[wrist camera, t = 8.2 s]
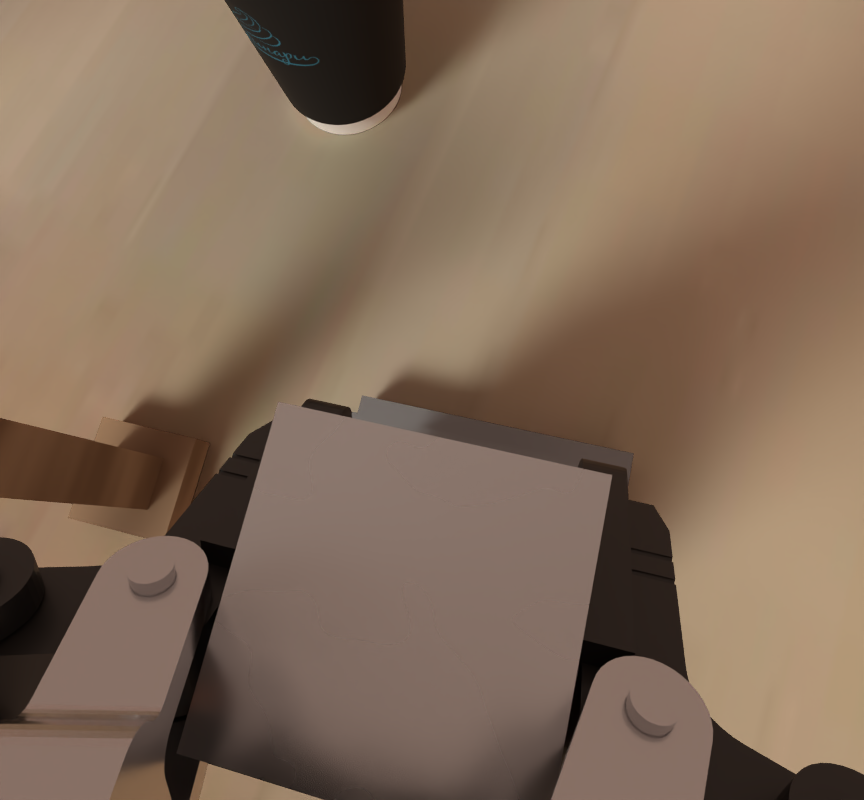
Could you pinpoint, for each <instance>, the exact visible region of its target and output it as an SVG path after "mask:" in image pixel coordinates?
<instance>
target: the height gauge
mask: <svg viewBox="0 0 864 800" xmlns="http://www.w3.org/2000/svg"><path fill="white" fill-rule="evenodd" d="M209 444H210V443H208V442H205V441H202V440H199V439H196V438H192V437H187V436H183V435H179V434H174V433H170V432H166V431H162V430H157V429H153V428H149V427H144V426H140V425H136V424H132V423H127V422H123V421H119V420H114V419H110V418H106V417H102V420H101V423H100V426H99V429H98V432H97V435H96V438H95V440H94V441H92V440H88V439H84V438H79V437H75V436H71V435H67V434H63V433H59V432H55V431H51V430H47V429H43V428H39V427H34V426H30V425H26V424H22V423H18V422H14V421H10V420H6V419H2V418H0V498H11V499H23V500H35V501H47V502H59V503H71V504H72V507H71V510H70V513H69V516H68V518H71V519H75V520H78V521H82V522H86V523H90V524H94V525H98V526H101V527H105V528H109V529H113V530H117V531H121V532H124V533H128V534H132V535H136V536H140V537H143V538H150V537H157V536H165V534H166V533H167V532H168V531H169V530H170V529H171V527H172V526H173V525H174V524H175V523H176V521H177V520H178V519H179V518H180V517H181V515H182V514H183V513H184V512H185V511H186V509H187V508H188V507H189V506H190V505H191V503H192V499H193V496H194V493H195V490H196V486H197V483H198V480H199V477H200V473H201V470H202V467H203V464H204V460H205V457H206V454H207V451H208V447H209Z"/></svg>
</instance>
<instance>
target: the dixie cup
mask: <svg viewBox="0 0 864 800" xmlns="http://www.w3.org/2000/svg"><path fill="white" fill-rule="evenodd" d="M225 2H226V3H227V5H228V6H229V8H230V9H231V11H232V13H233V14H234V16H235V17H236V19H237V20H238V22H239V23H240V25H241V26H242V28H243V29H244V31H245V33H246V34H247V36H248V37H249V39H250V40H251V42H252V43H253V45H254V46H255V48H256V50H257V51H258V53H259V54H260V56H261V57H262V59H263V60H264V62H265V63H266V65H267V66H268V68H269V70H270V71H271V73H272V74H273V76H274V77H275V79H276V80H277V82H278V83H279V85H280V87H281V88H282V90H283V91H284V93H285V94H286V96H287V97H288V99H289V100H290V102H291V103H292V105H293V106H294V107H295V108H296V109H297V110H298V111H299V112H300V113H302V114H303V115H304V116H306V117H307V119H308V120H309V121H310V122H311V123H312V124H313V125H315V126H316V127H318V128H320V129H322V130H324V131H326V132H329V133H334V134H341V135H347V134H356V133H360V132H363V131H366V130H369V129H371V128H373V127H375V126H376V125H378V124H379V123H381V122H382V121H383V120H384V119H386V118H387V117H388V116H389V114H390V113H391V112H392V111H393V109H394V108H395V106H396V104H397V102H398V100H399V97H400V94H401V88H402V82H403V79H404V75H405V68H406V60H405V38H404V16H403V0H225Z"/></svg>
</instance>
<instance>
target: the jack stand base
mask: <svg viewBox="0 0 864 800" xmlns="http://www.w3.org/2000/svg"><path fill="white" fill-rule="evenodd" d="M352 418H354V419H359V420H364V421H368V422H373V423H377V424H382V425H386V426H391V427H395V428H400V429H404V430H409V431H414V432H418V433H423V434H427V435H432V436H436V437H441V438H445V439H450V440H455V441H459V442H464V443H468V444H473V445H477V446H482V447H486V448H491V449H496V450H500V451H505V452H509V453H514V454H518V455H523V456H527V457H532V458H537V459H541V460H546V461H550V462H555V463H559V464H564V465H568V466H573V467H578V465H579V462H580V460H581V459H582V458H583V459H588V460H592V461H597V462H601V463H606V464H611V465H615V466H620V467H624V468H626V469H627V478H628V484H629V478H630V472H631V466H632V460H633V455H634V453H629V452H624V451H620V450H615V449H610V448H606V447H601V446H596V445H592V444H587V443H582V442H578V441H573V440H568V439H564V438H559V437H554V436H550V435H545V434H540V433H536V432H531V431H526V430H521V429H517V428H512V427H507V426H503V425H498V424H493V423H489V422H484V421H479V420H475V419H470V418H465V417H461V416H456V415H451V414H447V413H442V412H437V411H433V410H428V409H423V408H418V407H414V406H409V405H404V404H400V403H395V402H390V401H386V400H381V399H376V398H372V397H367V396H362V398H361V402H360V406H359V410H358V413H355V412H352Z"/></svg>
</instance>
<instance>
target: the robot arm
mask: <svg viewBox="0 0 864 800" xmlns="http://www.w3.org/2000/svg"><path fill="white" fill-rule="evenodd" d="M301 407H304V408H309V409H313V410H318V411H323V412H327V413H332V414H336V415H341V416H345V417H350V418H352V412H351V409H350V408H349V407H346V406H341V405H336V404H332V403H327V402H323V401H318V400H313V399H308V400H306V401H305V402H304V403H303V405H302V406H301ZM272 422H273V421H271V422H269V423H268V424H266V425H264V426H262V427H261V428H259V429H257V430H255V431H254V432H252V433H250V434H249V435H248V436H247V437H246V438H245V440H244V441H243V442H242V443H241V444H240V446H239V447H238V448H237V449H236V450H235V452H234V453H233V456H232V458H229V459H228V460H227V461H226V462H225V464H224V465H223V466H222V467H221V468H220V471H219V474H215V476H214V477H213V478H212V479H211V480H210V482H209V483H208V484H207V485H206V486H205V488H204V489H203V490H202V491H201V492H200V494H199V495H198V496H197V497H196V498H195V500H194V501H193V502H192V503H191V505H190V506H189V507H188V508H187V509H186V511H185V512H184V513H183V514H182V515H181V517H180V518H179V519H178V520H177V521H176V523H175V524H174V525H173V526H172V527H171V529H170V530H169V531H168V532H167V533H166V534H165V536H157V537H150V538H146V539H143V540H139V541H137V542H134V543H132V544H130V545H128V546H126V547H124V548H122V549H121V550H119V551H117V552H116V553H115V554H113V555H112V556H111V557H110V558H109V559H108V560H107V561H106V562H105V563H104V564H103V565H102V566H85V567H45V568H38V566H37V563H36V560H35V558H34V555H33V553H32V551H31V549H30V548H29V547H28V546H27V545H25V544H24V543H22V542H20V541H17V540H14V539H10V538H1V537H0V800H199V798H200V794H201V790H202V786H203V782H204V778H205V774H206V770H207V766H208V763H206V762H202V761H199V760H196V759H193V758H190V757H187V756H183V755H180V754H177V750H178V746H179V743H180V739H181V736H182V733H183V729H184V726H185V722H186V719H187V715H188V712H189V708H190V705H191V701H192V698H193V695H194V691H195V688H196V684H197V681H198V677H199V674H200V670H201V667H202V663H203V660H204V657H205V653H206V650H207V646H208V643H209V639H210V636H211V632H212V629H213V626H214V622H215V619H216V615H217V612H218V608H219V605H220V601H221V598H222V594H223V591H224V588H225V584H226V581H227V577H228V574H229V570H230V567H231V563H232V560H233V556H234V553H235V550H236V546H237V543H238V539H239V536H240V532H241V529H242V525H243V522H244V519H245V515H246V512H247V508H248V505H249V501H250V498H251V494H252V491H253V487H254V484H255V481H256V477H257V474H258V470H259V467H260V463H261V460H262V456H263V453H264V450H265V446H266V443H267V439H268V436H269V432H270V429H271V425H272ZM578 468H582V469H587V470H591V471H596V472H600V473H605V474H609V475H612V480H611V485H610V491H609V496H608V502H607V508H606V513H605V519H604V525H603V530H602V536H601V541H600V547H599V553H598V558H597V564H596V569H595V575H594V581H593V586H592V592H591V597H590V603H589V609H588V614H587V620H586V626H585V631H584V637H583V642H582V648H581V654H580V659H579V665H578V670H577V676H576V682H575V687H574V693H573V698H572V704H571V710H570V715H569V721H568V727H567V732H566V738H565V743H564V749H563V755H562V760H561V766H560V771H559V775H558V777H557V780H556V783H555V786H554V789H553V792H552V794H551V797H550V800H864V775H863V774H861V773H859V772H857V771H855V770H853V769H850V768H847V767H844V766H841V765H836V764H832V763H818V764H812V765H809V766H807V767H805V768H803V769H802V770H801V771H799V772H798V773H797V774H794V773H793V772H791V771H789V770H787V769H786V768H784V767H782V766H781V765H779V764H777V763H775V762H774V761H772V760H770V759H768V758H767V757H765V756H763V755H761V754H760V753H758V752H756V751H755V750H753V749H751V748H749V747H748V746H746V745H744V744H743V743H741V742H740V741H738V740H736V739H735V738H733V737H732V736H731V735H730V734H728V733H727V732H726V731H725V730H723V729H722V728H721V727H720V726H719V725H718V724H717V723H716V722H715V721H714V720H713V719H712V718H711V717H710V714H709V711H708V709H707V707H706V705H705V703H704V701H703V700H702V698H701V697H700V695H699V694H698V692H697V691H696V690H695V689H694V687H693V686H692V685H691V684H690V683H689V680H688V676H687V671H686V665H685V657H684V648H683V640H682V632H681V624H680V615H679V607H678V599H677V590H676V585H674V581H675V574H674V566H673V562H672V549H671V541H670V532H669V530H668V528H667V526H666V525H665V523H664V522H663V520H662V518H661V517H660V515H659V514H658V512H657V510H656V509H655V507H654V506H653V505H649V504H645V503H640V502H636V501H631V500H628V478H627V469H626V468H624V467H620V466H615V465H611V464H606V463H601V462H597V461H592V460H588V459H583V458H582V459H581V460H580V462H579V465H578Z"/></svg>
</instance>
